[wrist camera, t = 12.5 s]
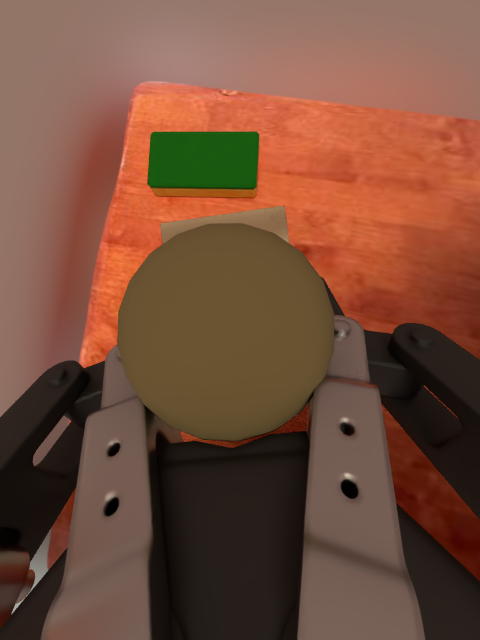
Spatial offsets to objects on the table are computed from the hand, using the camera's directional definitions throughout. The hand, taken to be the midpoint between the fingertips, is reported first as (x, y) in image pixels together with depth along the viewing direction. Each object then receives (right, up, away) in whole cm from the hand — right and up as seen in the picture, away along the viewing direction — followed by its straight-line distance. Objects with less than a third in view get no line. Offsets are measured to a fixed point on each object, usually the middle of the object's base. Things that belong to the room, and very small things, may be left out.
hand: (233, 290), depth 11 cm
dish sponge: (-4, +19, +21) cm, 28 cm away
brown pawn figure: (0, -2, +5) cm, 5 cm away
